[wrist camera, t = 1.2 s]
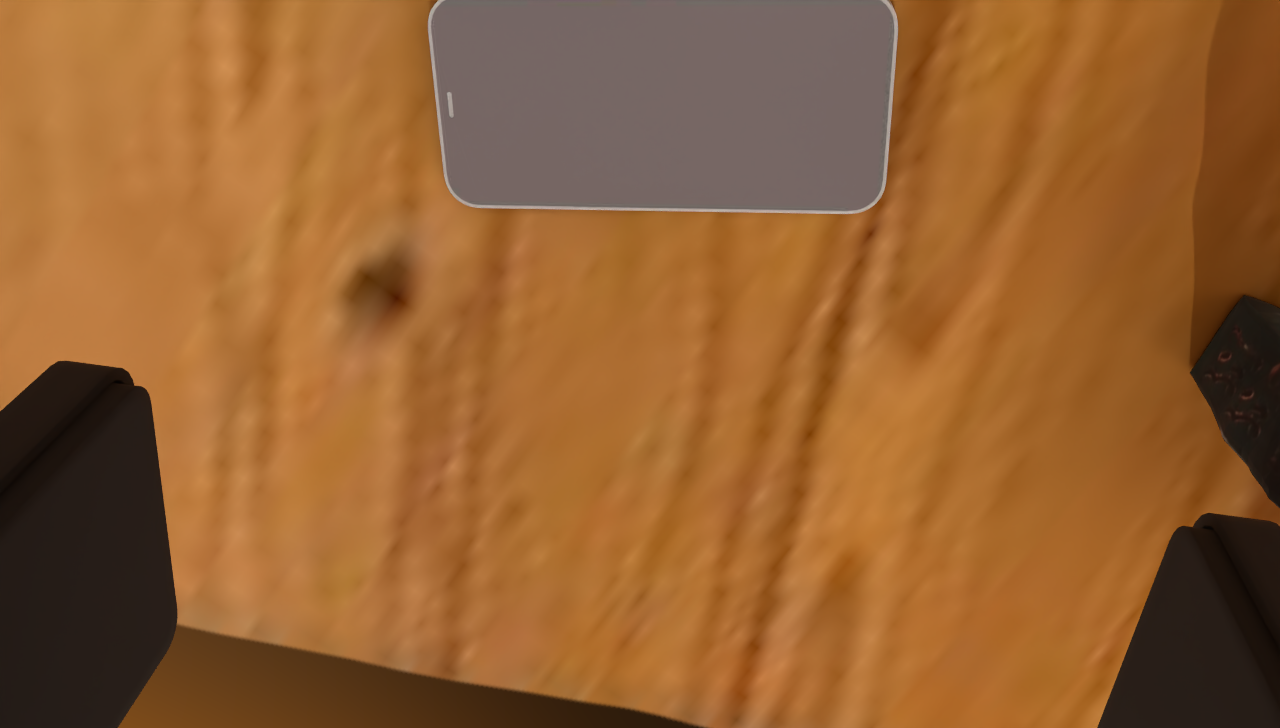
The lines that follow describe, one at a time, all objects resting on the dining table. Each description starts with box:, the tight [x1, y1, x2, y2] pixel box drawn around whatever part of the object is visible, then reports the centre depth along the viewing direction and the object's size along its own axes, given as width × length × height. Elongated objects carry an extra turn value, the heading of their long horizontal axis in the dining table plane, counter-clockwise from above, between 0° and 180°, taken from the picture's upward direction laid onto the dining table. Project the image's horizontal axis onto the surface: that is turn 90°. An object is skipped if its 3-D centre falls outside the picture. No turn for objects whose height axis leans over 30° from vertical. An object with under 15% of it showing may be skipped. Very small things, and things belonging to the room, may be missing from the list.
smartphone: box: [428, 0, 898, 214], centre depth 40 cm, size 7×1×15 cm
